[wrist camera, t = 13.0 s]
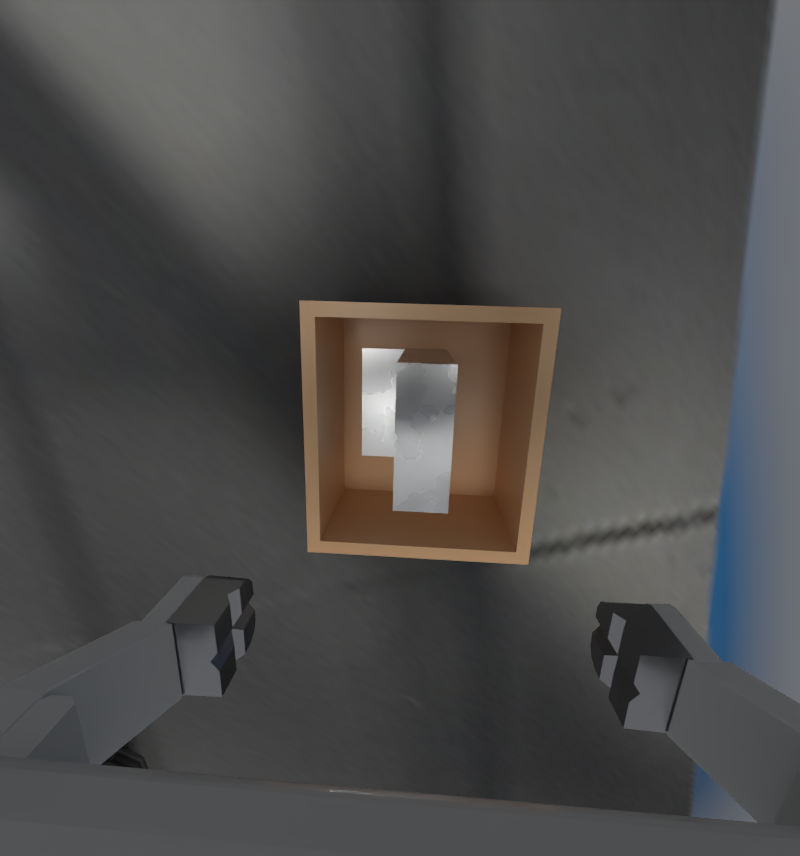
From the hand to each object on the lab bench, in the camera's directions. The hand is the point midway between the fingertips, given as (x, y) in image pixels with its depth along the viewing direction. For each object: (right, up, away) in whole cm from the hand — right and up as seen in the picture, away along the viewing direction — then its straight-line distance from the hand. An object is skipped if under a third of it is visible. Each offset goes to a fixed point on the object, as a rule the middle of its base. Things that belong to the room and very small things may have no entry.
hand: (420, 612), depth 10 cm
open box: (+1, +6, +22) cm, 23 cm away
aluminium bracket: (0, +6, +21) cm, 22 cm away
